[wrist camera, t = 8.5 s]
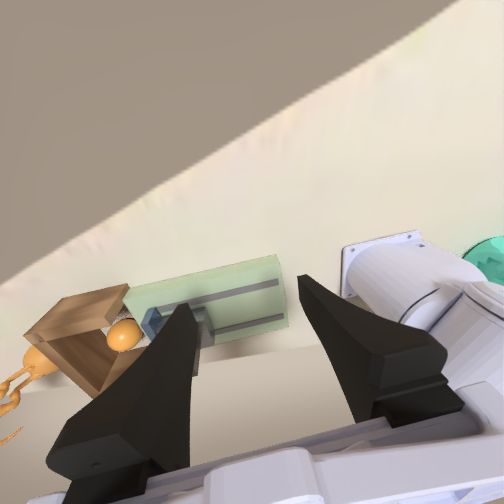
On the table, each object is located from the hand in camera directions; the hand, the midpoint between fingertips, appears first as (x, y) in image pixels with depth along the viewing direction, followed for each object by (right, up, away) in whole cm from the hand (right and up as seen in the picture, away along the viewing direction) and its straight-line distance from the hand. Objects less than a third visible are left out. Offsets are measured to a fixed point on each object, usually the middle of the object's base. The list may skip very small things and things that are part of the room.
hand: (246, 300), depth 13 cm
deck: (-4, -3, +12) cm, 14 cm away
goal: (-16, -6, +12) cm, 21 cm away
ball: (-14, -7, +10) cm, 19 cm away
